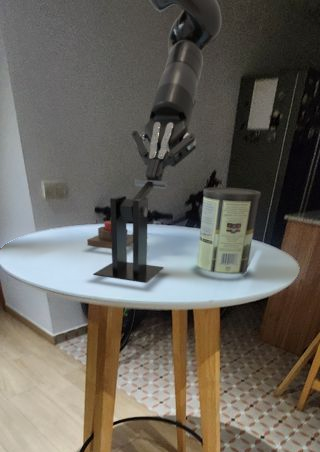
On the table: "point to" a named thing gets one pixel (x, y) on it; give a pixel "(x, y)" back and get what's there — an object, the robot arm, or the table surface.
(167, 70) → the robot arm
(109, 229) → the button
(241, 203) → the coffee can
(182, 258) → the table surface
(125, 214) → the lever
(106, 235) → the block
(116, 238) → the bracket
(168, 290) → the table surface
